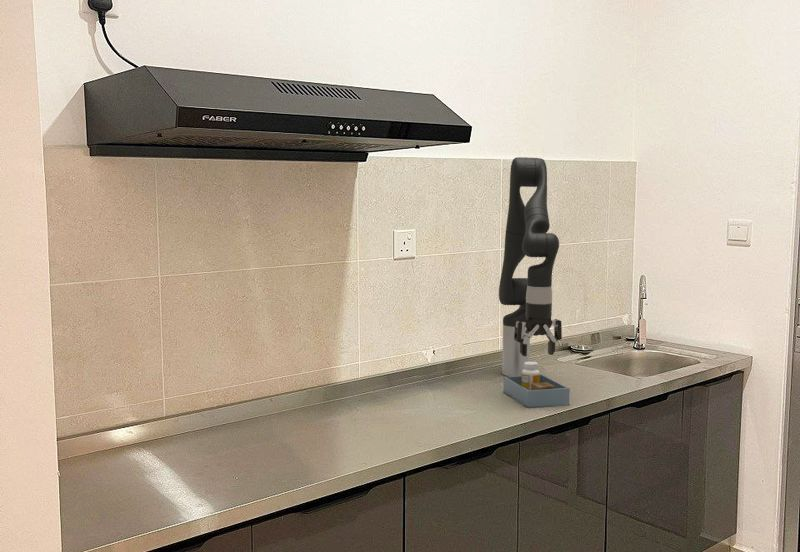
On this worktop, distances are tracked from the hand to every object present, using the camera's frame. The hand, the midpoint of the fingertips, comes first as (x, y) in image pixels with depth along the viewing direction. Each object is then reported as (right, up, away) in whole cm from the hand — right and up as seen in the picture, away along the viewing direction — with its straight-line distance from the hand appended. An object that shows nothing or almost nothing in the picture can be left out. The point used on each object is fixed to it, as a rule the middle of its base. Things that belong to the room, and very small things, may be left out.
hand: (537, 355), depth 227 cm
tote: (0, -14, +5) cm, 15 cm away
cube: (+2, -14, 0) cm, 14 cm away
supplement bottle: (-1, -13, +9) cm, 16 cm away
